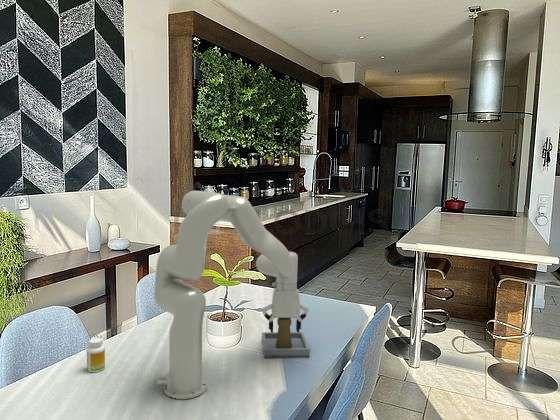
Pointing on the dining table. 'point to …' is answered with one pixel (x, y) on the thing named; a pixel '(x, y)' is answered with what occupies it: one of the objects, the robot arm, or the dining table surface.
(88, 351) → the supplement bottle
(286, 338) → the cork
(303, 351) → the tray
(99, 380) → the dining table surface
